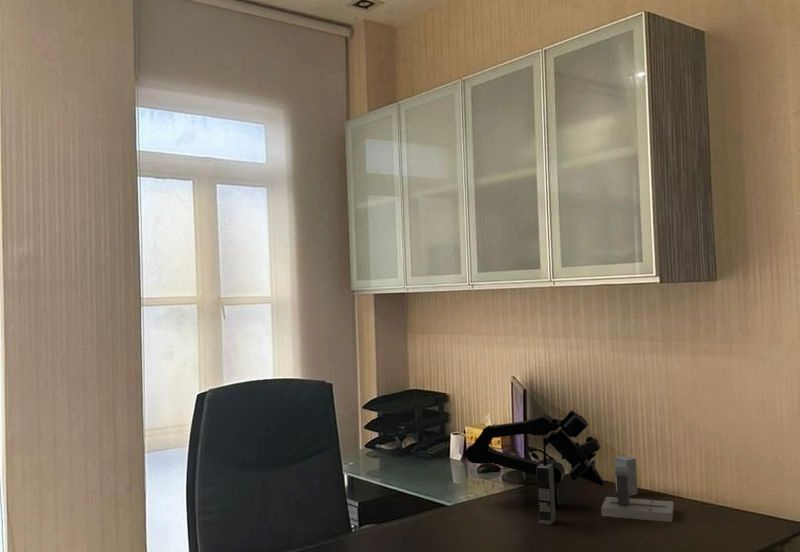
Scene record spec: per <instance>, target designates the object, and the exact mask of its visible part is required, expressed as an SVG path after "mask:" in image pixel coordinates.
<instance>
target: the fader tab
mask: <svg viewBox="0 0 800 552" xmlns="http://www.w3.org/2000/svg"><path fill="white" fill-rule="evenodd" d="M614 475H617V492H616V494H617V495H616V497H617V498H618V505H628V504H629V502H630V499H631V498H630V497H631V496H630V495H629V468H628V467H617V469H616V471H615V470H614Z"/></svg>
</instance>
